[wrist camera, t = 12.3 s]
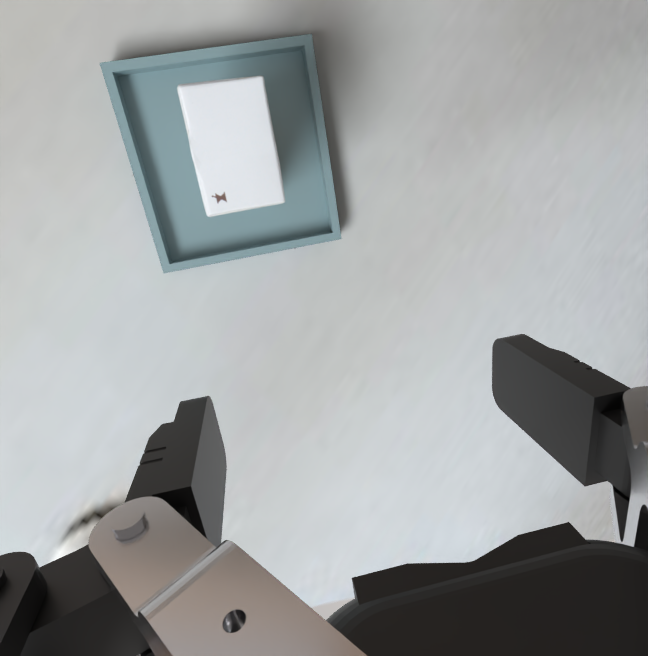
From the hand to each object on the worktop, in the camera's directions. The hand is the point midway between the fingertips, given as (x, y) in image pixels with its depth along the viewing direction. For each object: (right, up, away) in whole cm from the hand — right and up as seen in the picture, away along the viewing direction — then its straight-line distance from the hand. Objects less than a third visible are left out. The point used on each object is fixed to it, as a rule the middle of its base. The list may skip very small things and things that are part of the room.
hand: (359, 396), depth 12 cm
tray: (-8, +15, +20) cm, 26 cm away
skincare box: (-7, +14, +20) cm, 26 cm away
